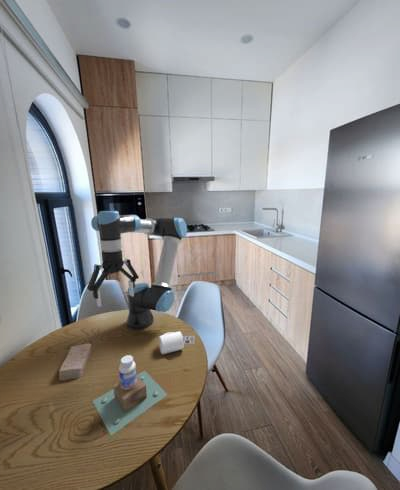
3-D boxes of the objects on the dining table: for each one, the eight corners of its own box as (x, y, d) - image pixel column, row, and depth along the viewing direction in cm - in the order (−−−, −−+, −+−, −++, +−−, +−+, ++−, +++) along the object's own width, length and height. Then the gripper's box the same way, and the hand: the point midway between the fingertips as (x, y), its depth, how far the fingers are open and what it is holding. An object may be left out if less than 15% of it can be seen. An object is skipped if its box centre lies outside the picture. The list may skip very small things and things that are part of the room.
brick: (82, 377, 86) (80, 367, 86) (58, 382, 84) (57, 371, 84) (92, 351, 102) (91, 342, 101) (72, 354, 100) (71, 345, 100)
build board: (144, 373, 88) (144, 369, 88) (167, 397, 76) (167, 393, 76) (92, 404, 74) (92, 400, 74) (111, 439, 63) (110, 434, 63)
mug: (184, 352, 100) (183, 336, 99) (162, 358, 96) (161, 342, 95) (177, 338, 111) (176, 324, 110) (157, 343, 107) (156, 328, 106)
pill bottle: (120, 380, 76) (118, 355, 75) (136, 376, 78) (134, 352, 77) (120, 392, 71) (118, 366, 70) (137, 387, 73) (135, 362, 72)
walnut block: (135, 384, 81) (134, 372, 80) (146, 397, 75) (145, 385, 74) (114, 397, 75) (113, 385, 74) (124, 413, 70) (123, 399, 69)
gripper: (136, 244, 97) (139, 289, 101) (74, 253, 80) (80, 307, 84) (144, 246, 91) (147, 294, 95) (80, 256, 75) (86, 313, 78)
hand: (116, 300), depth 89 cm, fingers open, 13 cm apart
